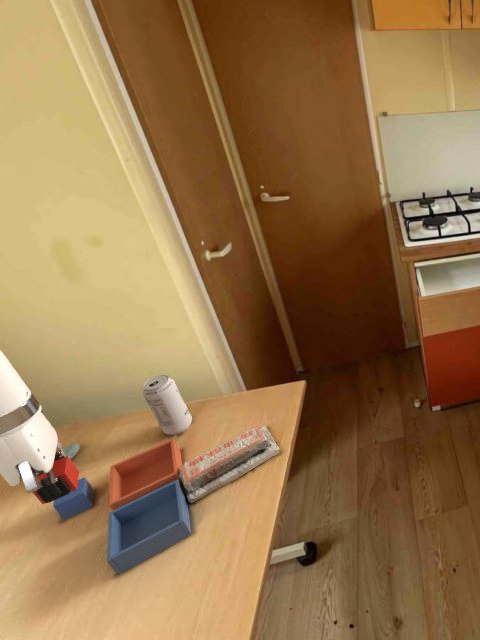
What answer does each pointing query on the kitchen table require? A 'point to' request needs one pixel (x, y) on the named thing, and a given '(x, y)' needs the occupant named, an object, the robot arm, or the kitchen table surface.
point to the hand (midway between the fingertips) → (60, 485)
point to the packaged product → (227, 462)
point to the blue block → (75, 500)
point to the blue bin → (147, 526)
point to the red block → (63, 474)
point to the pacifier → (69, 450)
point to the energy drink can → (167, 404)
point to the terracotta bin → (144, 473)
